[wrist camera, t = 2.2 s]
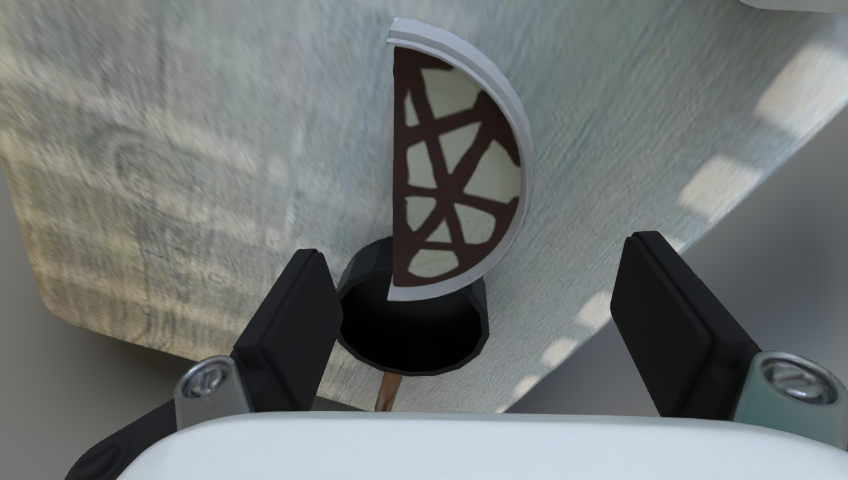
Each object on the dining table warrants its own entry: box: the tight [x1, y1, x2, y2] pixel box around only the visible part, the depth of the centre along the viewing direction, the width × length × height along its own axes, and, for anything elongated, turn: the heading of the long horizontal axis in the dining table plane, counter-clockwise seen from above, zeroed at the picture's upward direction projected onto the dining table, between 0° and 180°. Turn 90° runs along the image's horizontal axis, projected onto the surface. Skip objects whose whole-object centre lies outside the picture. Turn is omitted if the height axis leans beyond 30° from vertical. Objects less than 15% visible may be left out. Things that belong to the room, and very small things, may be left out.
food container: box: [386, 17, 535, 301], centre depth 18 cm, size 12×6×10 cm, turn 177°
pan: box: [336, 236, 490, 412], centre depth 31 cm, size 21×12×4 cm, turn 167°
